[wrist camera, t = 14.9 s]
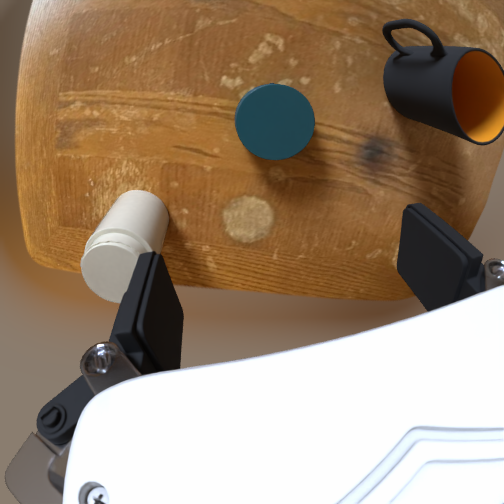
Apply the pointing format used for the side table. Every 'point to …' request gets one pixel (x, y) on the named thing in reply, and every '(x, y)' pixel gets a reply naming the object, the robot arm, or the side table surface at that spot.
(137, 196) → the jar
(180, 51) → the side table surface
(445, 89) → the mug
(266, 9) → the side table surface
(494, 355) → the robot arm
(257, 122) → the jar lid
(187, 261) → the side table surface
